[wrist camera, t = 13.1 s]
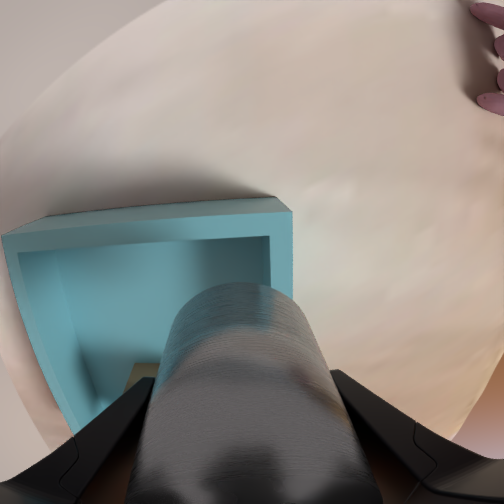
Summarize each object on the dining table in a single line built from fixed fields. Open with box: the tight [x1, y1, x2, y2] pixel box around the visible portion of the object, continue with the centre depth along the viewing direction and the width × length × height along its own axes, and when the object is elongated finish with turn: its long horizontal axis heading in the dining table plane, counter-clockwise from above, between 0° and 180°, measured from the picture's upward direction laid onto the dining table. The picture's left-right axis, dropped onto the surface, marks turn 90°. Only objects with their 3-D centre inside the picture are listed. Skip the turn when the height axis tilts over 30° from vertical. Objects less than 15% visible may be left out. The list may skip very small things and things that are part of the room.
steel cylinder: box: [124, 282, 383, 504], centre depth 7 cm, size 5×5×7 cm
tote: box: [1, 197, 293, 435], centre depth 18 cm, size 18×15×5 cm
